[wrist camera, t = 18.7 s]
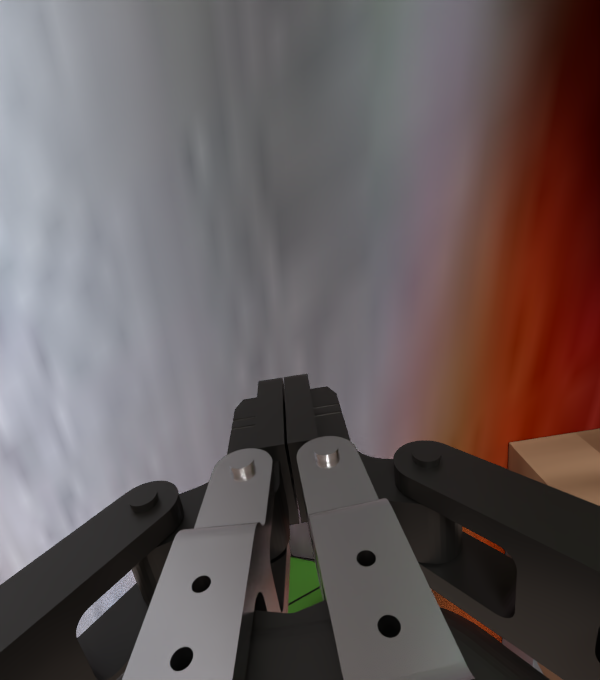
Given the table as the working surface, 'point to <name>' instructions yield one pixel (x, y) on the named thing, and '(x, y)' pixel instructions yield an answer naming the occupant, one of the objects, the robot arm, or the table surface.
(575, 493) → the slotted tan block
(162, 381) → the table surface
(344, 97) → the table surface
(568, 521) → the robot arm
